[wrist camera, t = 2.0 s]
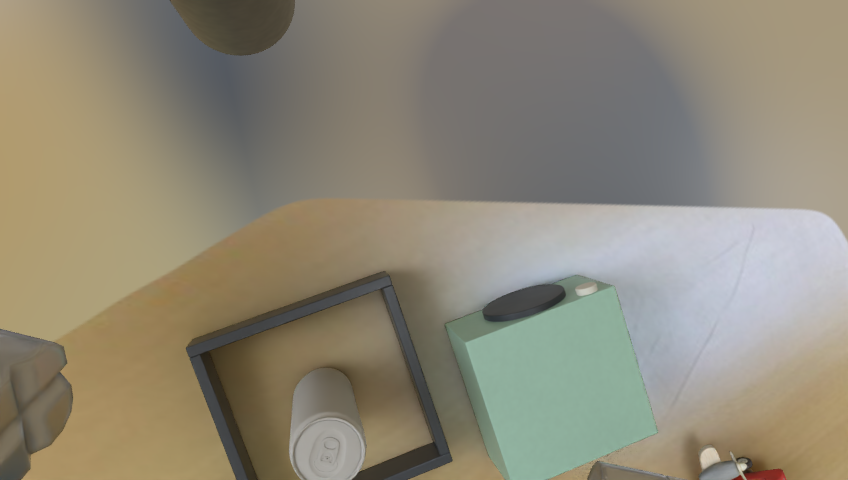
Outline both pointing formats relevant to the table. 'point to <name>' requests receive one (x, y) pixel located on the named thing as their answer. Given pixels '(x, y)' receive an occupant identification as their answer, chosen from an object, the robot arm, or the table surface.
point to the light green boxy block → (552, 377)
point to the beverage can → (326, 428)
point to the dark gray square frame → (385, 476)
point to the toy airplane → (732, 468)
